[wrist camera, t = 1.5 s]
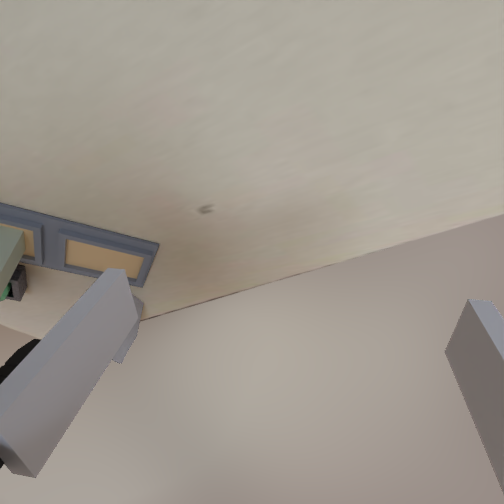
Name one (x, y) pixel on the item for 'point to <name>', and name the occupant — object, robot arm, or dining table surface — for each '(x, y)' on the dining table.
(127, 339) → the tea bag
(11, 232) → the carton
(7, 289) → the button
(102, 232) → the grey flat frame
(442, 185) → the dining table surface
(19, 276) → the button housing
